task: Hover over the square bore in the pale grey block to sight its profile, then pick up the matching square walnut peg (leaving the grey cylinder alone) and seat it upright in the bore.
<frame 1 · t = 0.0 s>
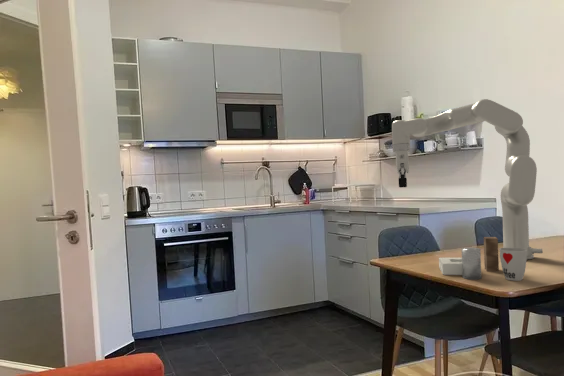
hand: (402, 187, 192), 31 cm above the table, fingers open, 9 cm apart
grey cylinder: (471, 277, 150), on the table
bore block: (458, 271, 160), on the table
cup: (513, 279, 146), on the table
walnut peg: (491, 270, 160), on the table
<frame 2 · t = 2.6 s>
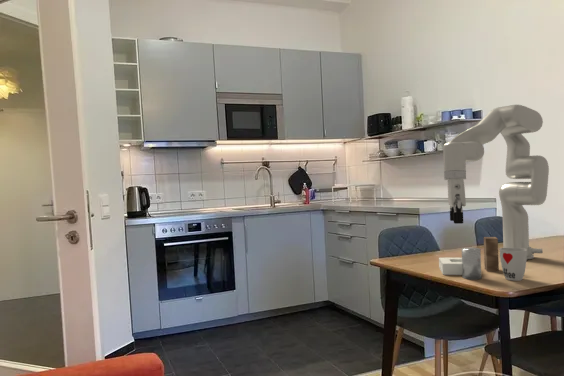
hand: (456, 222, 160), 18 cm above the table, fingers open, 9 cm apart
nothing on the table moved.
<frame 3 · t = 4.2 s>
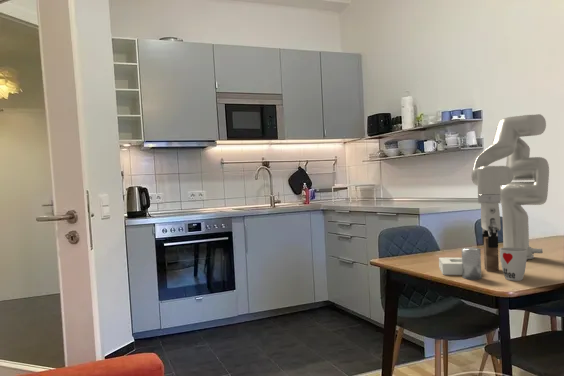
hand: (490, 245, 160), 9 cm above the table, fingers open, 9 cm apart
nothing on the table moved.
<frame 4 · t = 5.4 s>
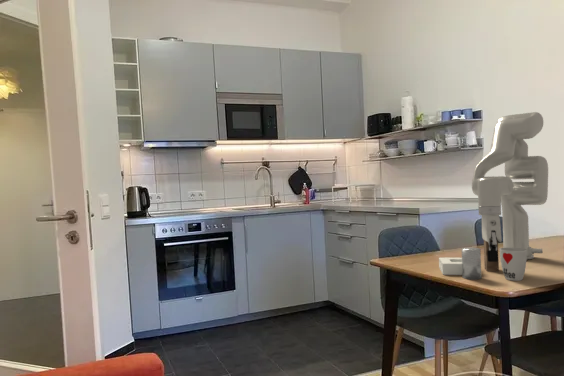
hand: (491, 259, 160), 4 cm above the table, fingers closed on walnut peg, 4 cm apart
walnut peg: (491, 270, 160), on the table, touching gripper
everything else where it was.
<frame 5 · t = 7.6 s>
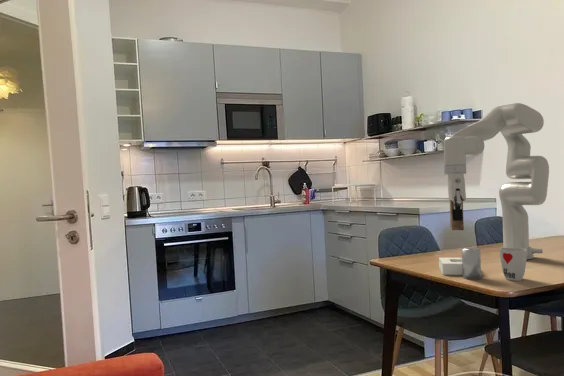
hand: (456, 219, 160), 19 cm above the table, fingers closed on walnut peg, 4 cm apart
walnut peg: (457, 229, 160), point 15 cm above the table, touching gripper
everything else where it was.
when the fingers open (5 cm above the table, at t = 9.7 s): walnut peg stays where it is, resting in bore block.
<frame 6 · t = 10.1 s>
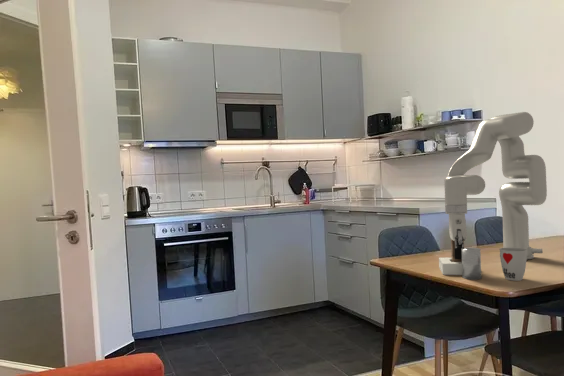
hand: (457, 256, 160), 5 cm above the table, fingers open, 7 cm apart
walnut peg: (458, 271, 160), resting in bore block
everything else where it was.
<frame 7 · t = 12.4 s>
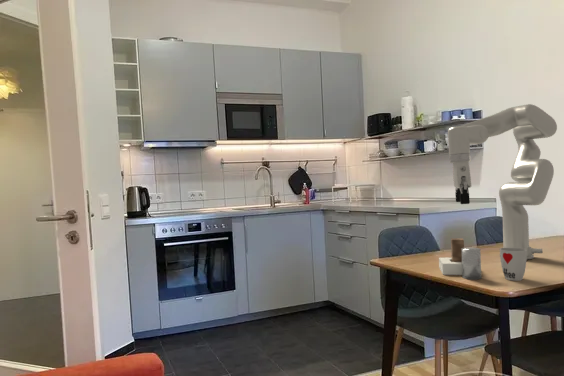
hand: (462, 202, 168), 25 cm above the table, fingers open, 9 cm apart
nothing on the table moved.
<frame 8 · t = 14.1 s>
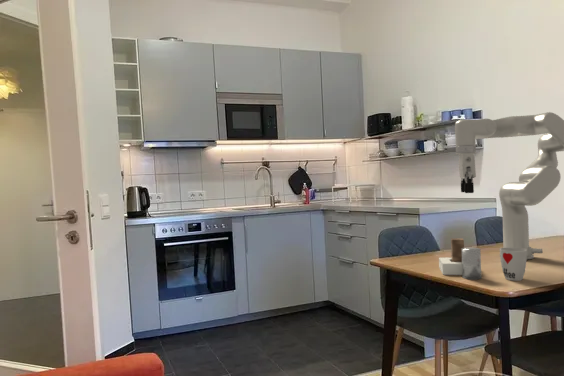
hand: (467, 192, 177), 28 cm above the table, fingers open, 9 cm apart
nothing on the table moved.
at the end: walnut peg 0.0 cm off-centre on the bore block, point 0.0 cm above the bore block's base; walnut peg tilted 0°; the gripper is holding nothing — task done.
